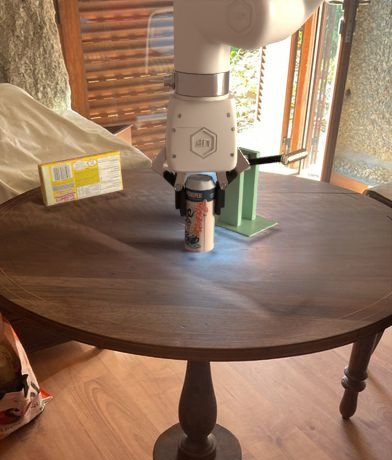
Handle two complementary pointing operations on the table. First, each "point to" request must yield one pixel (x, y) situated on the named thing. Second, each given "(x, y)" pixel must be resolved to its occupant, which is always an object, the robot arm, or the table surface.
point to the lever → (278, 158)
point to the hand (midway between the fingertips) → (199, 211)
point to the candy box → (80, 177)
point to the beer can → (199, 213)
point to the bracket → (243, 202)
